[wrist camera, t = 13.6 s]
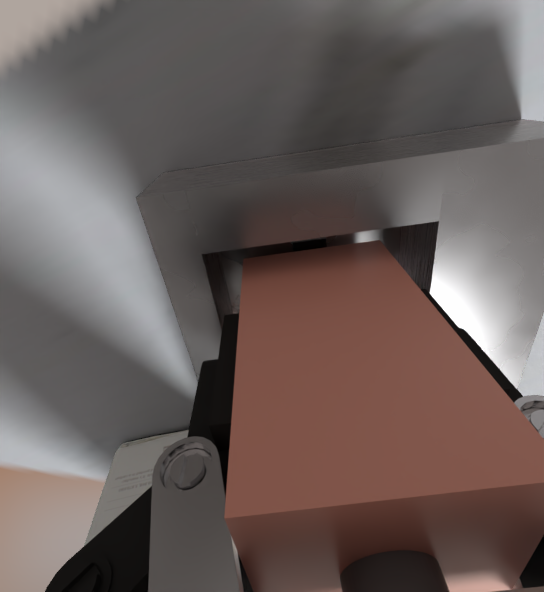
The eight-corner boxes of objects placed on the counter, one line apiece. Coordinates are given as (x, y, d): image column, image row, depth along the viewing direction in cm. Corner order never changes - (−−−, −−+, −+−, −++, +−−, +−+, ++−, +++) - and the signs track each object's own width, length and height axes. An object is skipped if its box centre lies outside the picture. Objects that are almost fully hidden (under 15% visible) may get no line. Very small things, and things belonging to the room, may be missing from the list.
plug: (243, 258, 11) (203, 784, 3) (379, 239, 11) (786, 735, 3) (262, 360, 14) (275, 817, 5) (375, 345, 13) (584, 792, 5)
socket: (243, 452, 19) (241, 509, 16) (163, 172, 11) (135, 197, 9) (453, 427, 18) (485, 482, 16) (522, 119, 11) (606, 128, 8)
